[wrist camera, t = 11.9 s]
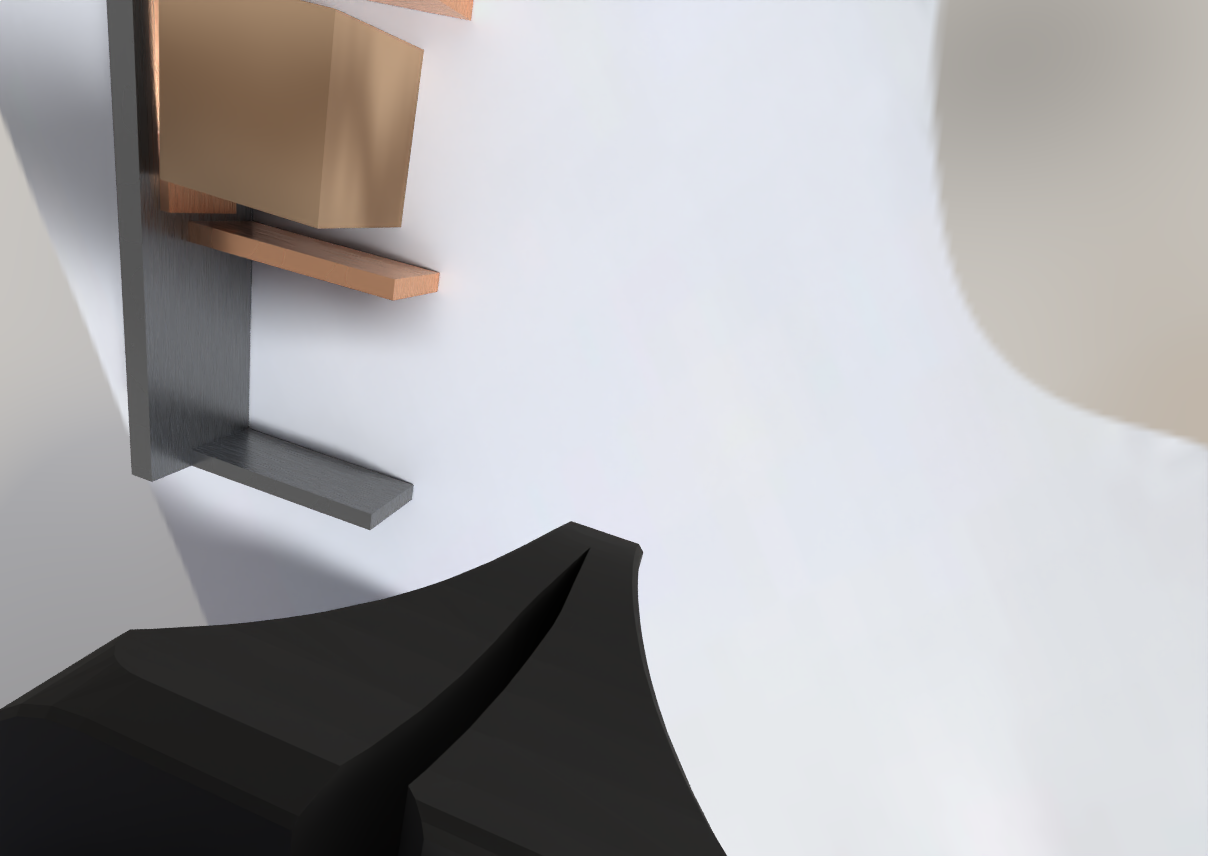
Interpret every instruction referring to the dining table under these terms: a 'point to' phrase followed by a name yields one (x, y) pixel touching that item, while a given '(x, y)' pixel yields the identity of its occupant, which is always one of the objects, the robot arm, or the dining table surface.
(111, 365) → the dining table surface
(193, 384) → the rack
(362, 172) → the walnut block
